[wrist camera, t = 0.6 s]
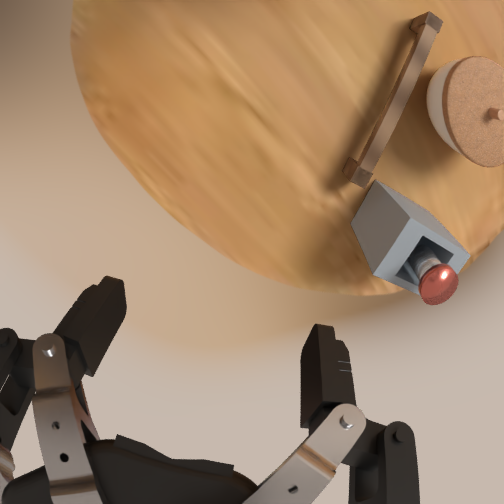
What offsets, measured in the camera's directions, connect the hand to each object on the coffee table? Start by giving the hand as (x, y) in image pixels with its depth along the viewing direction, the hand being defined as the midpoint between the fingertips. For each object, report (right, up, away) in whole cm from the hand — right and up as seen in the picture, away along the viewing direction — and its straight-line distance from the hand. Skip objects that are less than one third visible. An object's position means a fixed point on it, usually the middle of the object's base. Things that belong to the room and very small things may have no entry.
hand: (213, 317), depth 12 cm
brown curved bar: (+18, +22, +17) cm, 33 cm away
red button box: (+21, +7, +25) cm, 34 cm away
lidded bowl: (+28, +22, +16) cm, 39 cm away
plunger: (+20, +2, +16) cm, 26 cm away
